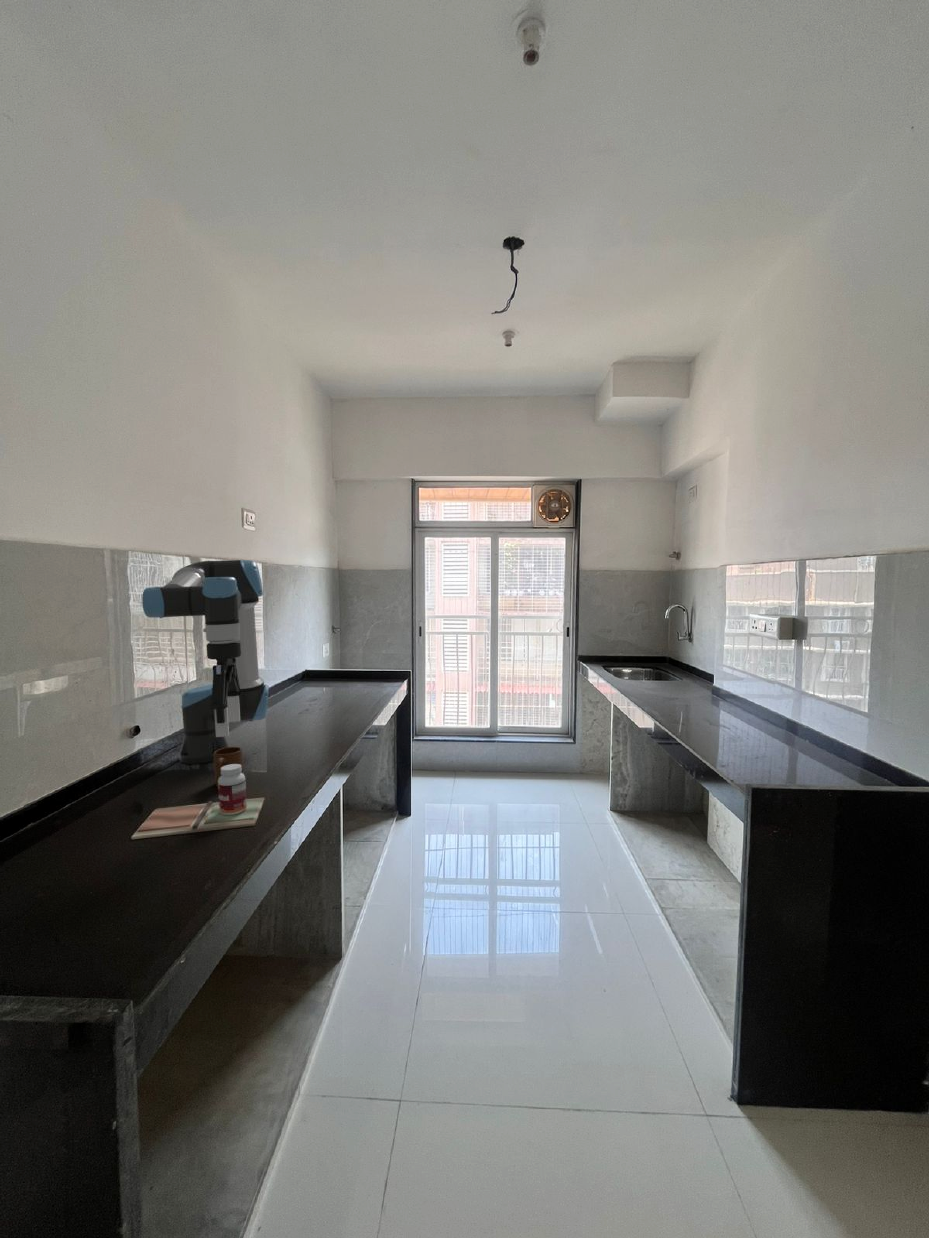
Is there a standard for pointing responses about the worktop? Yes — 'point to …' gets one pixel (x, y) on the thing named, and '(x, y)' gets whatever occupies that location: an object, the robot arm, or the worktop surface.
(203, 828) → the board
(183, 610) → the robot arm
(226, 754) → the mug
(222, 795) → the pill bottle
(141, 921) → the worktop surface
